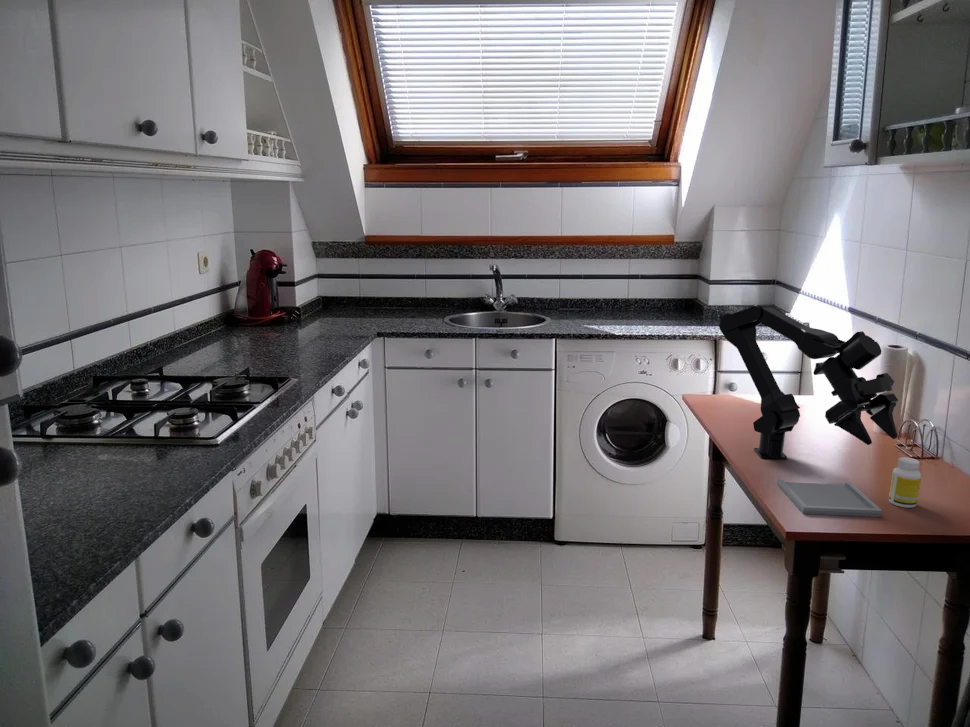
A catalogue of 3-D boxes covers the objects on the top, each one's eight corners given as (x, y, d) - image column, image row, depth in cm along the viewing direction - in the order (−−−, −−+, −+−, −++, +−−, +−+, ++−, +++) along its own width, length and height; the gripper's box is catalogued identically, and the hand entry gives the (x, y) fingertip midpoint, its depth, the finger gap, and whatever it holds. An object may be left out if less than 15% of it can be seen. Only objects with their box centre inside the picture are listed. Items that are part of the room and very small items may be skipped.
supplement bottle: (922, 508, 169) (929, 464, 167) (899, 509, 168) (906, 465, 166) (905, 498, 174) (911, 455, 172) (882, 499, 173) (889, 456, 171)
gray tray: (777, 484, 179) (778, 479, 179) (849, 487, 179) (849, 482, 179) (802, 513, 164) (803, 507, 163) (881, 517, 163) (882, 510, 163)
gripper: (844, 365, 169) (885, 428, 163) (896, 357, 179) (937, 417, 172) (808, 392, 178) (846, 453, 171) (859, 383, 187) (897, 441, 180)
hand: (883, 441), depth 173 cm, fingers open, 9 cm apart
